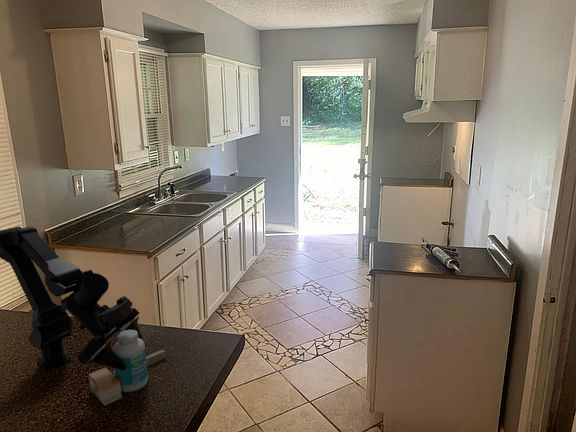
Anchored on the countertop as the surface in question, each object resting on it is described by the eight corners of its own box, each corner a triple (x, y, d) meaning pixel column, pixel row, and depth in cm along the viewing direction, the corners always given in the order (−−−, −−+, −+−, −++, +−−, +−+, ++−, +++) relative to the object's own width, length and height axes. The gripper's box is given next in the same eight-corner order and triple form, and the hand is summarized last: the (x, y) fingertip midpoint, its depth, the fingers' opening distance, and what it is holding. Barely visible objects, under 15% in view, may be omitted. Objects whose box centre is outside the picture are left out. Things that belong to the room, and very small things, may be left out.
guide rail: (113, 377, 110) (112, 370, 109) (163, 355, 119) (163, 349, 119) (115, 379, 109) (114, 372, 109) (166, 357, 119) (165, 350, 118)
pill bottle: (138, 395, 103) (132, 343, 100) (110, 391, 104) (103, 340, 101) (154, 376, 110) (149, 328, 107) (127, 373, 112) (122, 325, 108)
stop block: (91, 390, 105) (88, 374, 104) (107, 383, 108) (105, 367, 107) (104, 405, 99) (102, 388, 98) (121, 397, 102) (119, 381, 101)
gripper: (83, 309, 93) (135, 360, 94) (129, 277, 111) (172, 320, 112) (55, 340, 97) (106, 389, 97) (104, 304, 114) (147, 345, 115)
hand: (135, 358), depth 105 cm, fingers open, 9 cm apart
